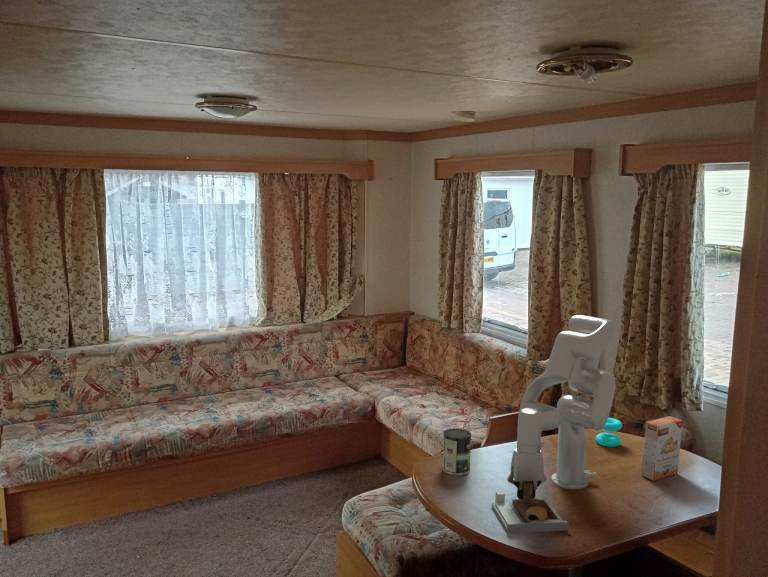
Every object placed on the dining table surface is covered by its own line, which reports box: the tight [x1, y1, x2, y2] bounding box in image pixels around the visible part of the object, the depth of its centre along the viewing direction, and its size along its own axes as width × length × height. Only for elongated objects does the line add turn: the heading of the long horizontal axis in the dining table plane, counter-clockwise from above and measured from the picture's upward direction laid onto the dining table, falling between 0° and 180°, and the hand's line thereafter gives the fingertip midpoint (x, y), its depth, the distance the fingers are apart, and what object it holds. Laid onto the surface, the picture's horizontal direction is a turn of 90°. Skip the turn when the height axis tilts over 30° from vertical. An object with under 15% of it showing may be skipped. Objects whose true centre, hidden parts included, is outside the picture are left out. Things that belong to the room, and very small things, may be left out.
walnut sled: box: [511, 481, 564, 523], centre depth 203 cm, size 11×19×7 cm, turn 7°
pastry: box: [524, 506, 549, 521], centre depth 201 cm, size 9×7×4 cm
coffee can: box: [442, 428, 472, 476], centre depth 236 cm, size 10×10×14 cm
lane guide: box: [491, 501, 569, 534], centre depth 200 cm, size 19×17×3 cm
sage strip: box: [494, 490, 522, 524], centre depth 201 cm, size 4×18×4 cm, turn 7°
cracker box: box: [640, 415, 684, 482], centre depth 233 cm, size 14×6×21 cm, turn 121°
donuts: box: [595, 416, 623, 448], centre depth 264 cm, size 10×10×10 cm
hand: (525, 499), depth 211 cm, fingers closed on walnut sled, 3 cm apart
